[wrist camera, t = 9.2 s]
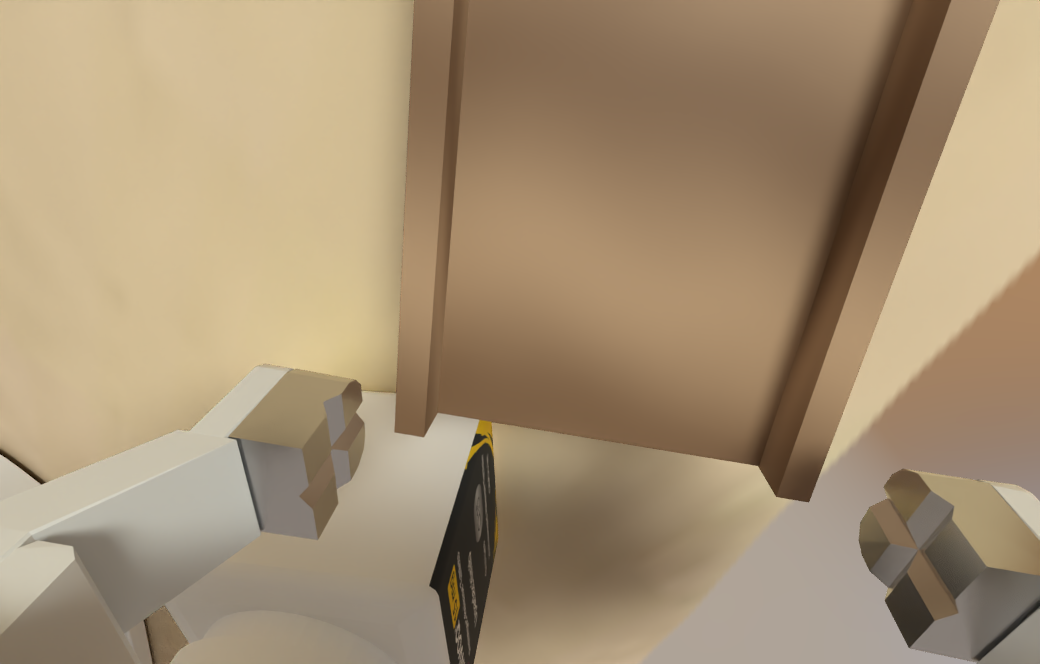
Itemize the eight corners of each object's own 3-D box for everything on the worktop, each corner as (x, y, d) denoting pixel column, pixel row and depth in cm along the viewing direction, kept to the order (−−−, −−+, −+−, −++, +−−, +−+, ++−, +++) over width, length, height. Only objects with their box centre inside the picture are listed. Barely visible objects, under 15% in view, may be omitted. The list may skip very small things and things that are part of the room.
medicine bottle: (500, 535, 20) (402, 1043, 10) (332, 518, 21) (87, 969, 11) (492, 394, 17) (327, 965, 7) (291, 381, 18) (-133, 864, 7)
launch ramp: (730, 351, 15) (799, 517, 10) (461, 310, 15) (394, 448, 10) (956, -242, 8) (1482, -641, 3) (487, -278, 9) (346, -677, 4)
